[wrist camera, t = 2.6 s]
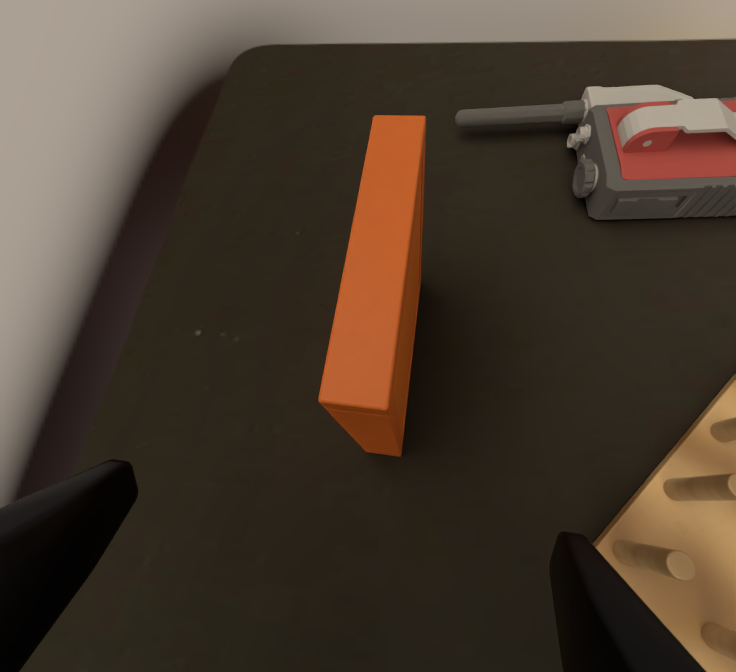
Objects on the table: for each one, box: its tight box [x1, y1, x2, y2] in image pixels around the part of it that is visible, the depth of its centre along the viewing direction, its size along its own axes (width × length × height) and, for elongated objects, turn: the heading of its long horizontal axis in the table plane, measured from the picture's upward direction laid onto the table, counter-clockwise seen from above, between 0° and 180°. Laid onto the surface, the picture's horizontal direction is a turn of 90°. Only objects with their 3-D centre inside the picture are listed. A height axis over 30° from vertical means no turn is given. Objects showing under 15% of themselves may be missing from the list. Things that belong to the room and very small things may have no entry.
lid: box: [318, 115, 426, 457], centre depth 17 cm, size 10×2×11 cm, turn 172°
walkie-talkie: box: [455, 85, 736, 220], centre depth 23 cm, size 9×4×20 cm
